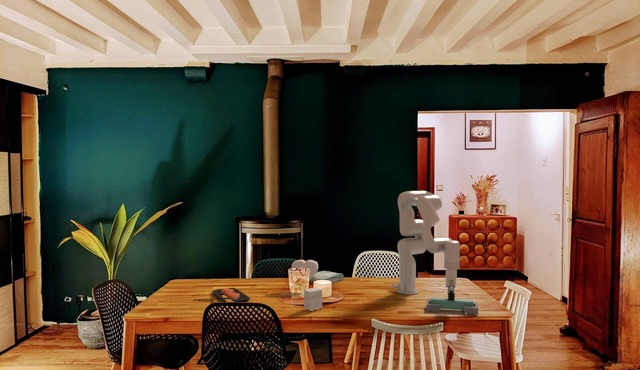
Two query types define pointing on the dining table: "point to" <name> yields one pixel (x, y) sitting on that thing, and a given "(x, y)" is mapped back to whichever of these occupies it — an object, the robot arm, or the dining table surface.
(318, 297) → the small box
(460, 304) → the slat
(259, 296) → the dining table surface
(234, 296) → the sushi plate
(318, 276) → the towel
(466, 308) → the end caps
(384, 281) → the dining table surface
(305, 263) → the heart sculpture
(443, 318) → the dining table surface
